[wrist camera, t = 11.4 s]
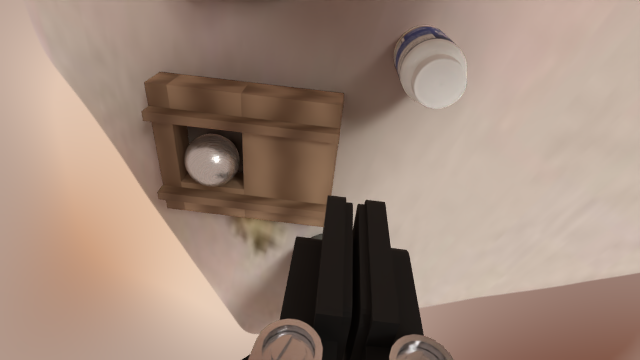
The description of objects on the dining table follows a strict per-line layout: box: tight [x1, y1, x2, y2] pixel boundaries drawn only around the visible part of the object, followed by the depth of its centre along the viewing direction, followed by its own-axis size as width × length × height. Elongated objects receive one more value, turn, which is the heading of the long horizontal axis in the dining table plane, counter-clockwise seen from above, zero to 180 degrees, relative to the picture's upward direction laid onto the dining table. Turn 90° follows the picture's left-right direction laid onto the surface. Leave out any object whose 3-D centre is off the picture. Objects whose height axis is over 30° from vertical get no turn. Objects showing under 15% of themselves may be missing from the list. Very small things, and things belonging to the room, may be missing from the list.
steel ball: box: [184, 134, 239, 186], centre depth 41 cm, size 6×6×6 cm
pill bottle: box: [394, 25, 467, 109], centre depth 31 cm, size 5×5×10 cm
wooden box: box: [141, 72, 344, 227], centre depth 41 cm, size 20×16×5 cm
